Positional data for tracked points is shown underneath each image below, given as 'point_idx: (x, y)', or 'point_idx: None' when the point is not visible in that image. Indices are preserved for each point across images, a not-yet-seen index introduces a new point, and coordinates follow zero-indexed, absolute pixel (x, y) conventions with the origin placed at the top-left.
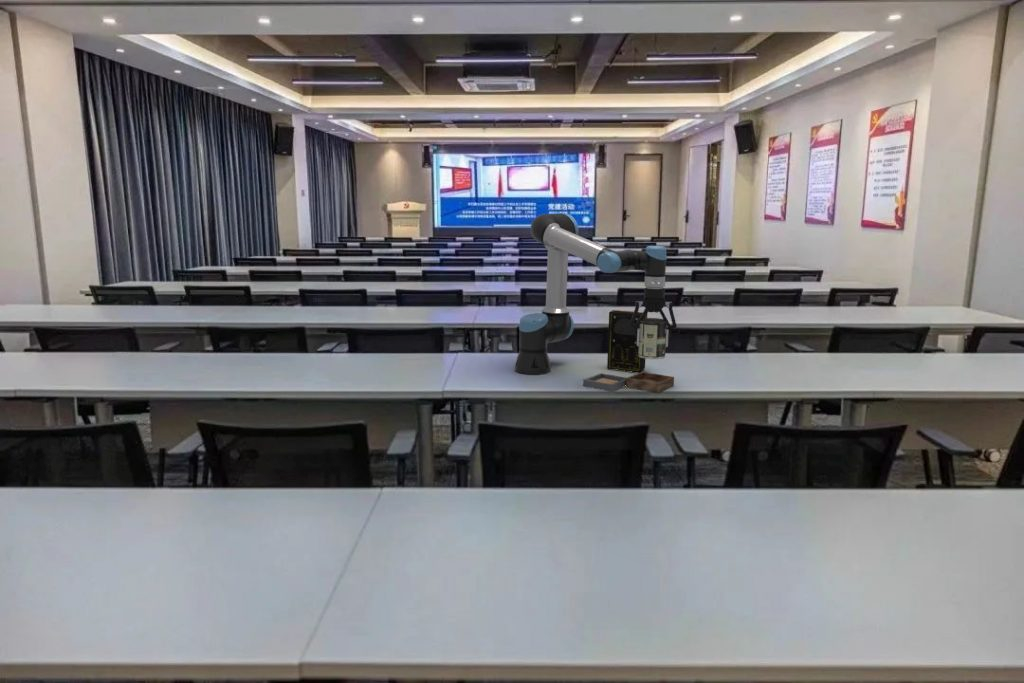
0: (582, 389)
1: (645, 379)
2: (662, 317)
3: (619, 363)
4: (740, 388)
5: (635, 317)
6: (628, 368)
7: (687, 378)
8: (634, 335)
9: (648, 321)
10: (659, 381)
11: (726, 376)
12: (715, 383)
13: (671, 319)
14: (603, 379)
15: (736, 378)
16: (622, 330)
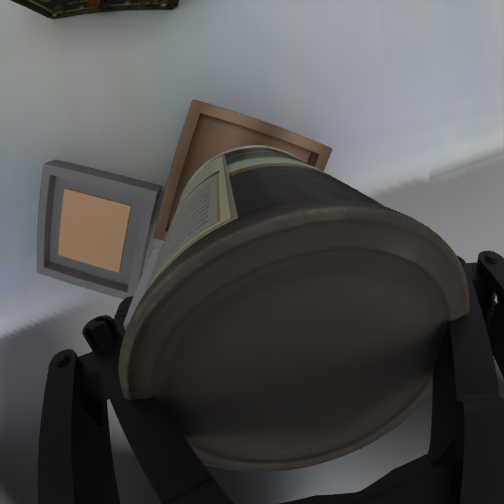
0: (61, 296)
1: (211, 125)
2: (432, 413)
3: (81, 2)
4: (478, 133)
5: (110, 471)
6: (122, 3)
7: (356, 35)
8: None
9: (262, 445)
10: (269, 137)
11: (448, 10)
12: (433, 87)
13: (500, 339)
14: (71, 205)
15: (469, 32)
16: None
